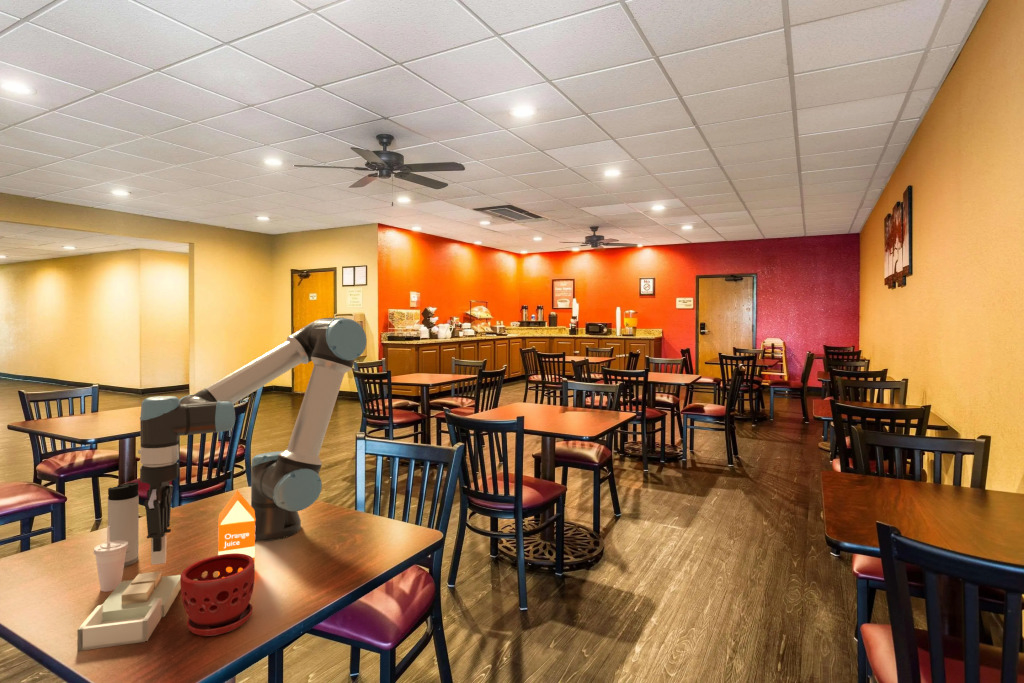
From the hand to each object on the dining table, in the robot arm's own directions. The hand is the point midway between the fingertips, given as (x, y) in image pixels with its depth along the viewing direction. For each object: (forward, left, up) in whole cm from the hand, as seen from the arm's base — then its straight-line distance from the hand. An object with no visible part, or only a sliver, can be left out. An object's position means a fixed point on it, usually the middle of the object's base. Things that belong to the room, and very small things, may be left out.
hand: (158, 562), depth 127 cm
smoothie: (+9, +2, -4) cm, 10 cm away
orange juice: (-17, +4, -4) cm, 18 cm away
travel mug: (+11, -12, -4) cm, 17 cm away
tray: (0, +23, -4) cm, 24 cm away
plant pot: (-17, +25, -4) cm, 30 cm away
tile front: (0, +14, -1) cm, 14 cm away
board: (0, +12, -4) cm, 12 cm away
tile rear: (0, +9, -1) cm, 9 cm away
